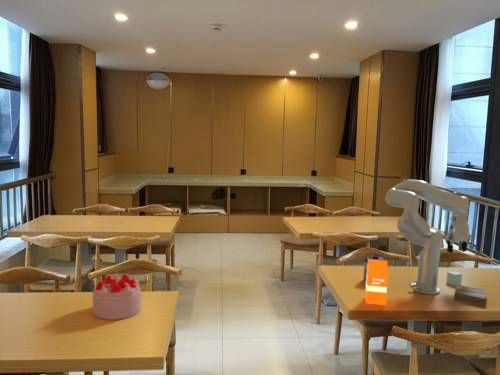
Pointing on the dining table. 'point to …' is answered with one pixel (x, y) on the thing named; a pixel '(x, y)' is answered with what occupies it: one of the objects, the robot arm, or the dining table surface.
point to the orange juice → (376, 282)
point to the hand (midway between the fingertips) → (456, 251)
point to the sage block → (454, 278)
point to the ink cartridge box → (367, 264)
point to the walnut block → (470, 295)
